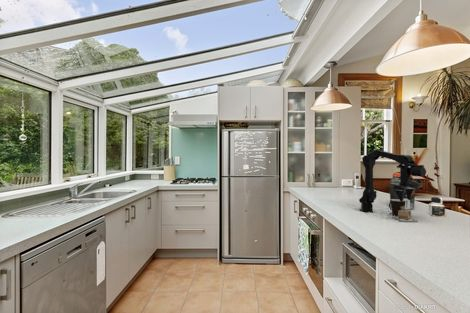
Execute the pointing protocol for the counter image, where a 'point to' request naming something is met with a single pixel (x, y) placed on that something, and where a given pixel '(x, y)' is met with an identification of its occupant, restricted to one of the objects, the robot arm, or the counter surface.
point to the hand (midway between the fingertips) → (405, 200)
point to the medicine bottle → (437, 207)
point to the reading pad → (404, 220)
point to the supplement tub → (409, 203)
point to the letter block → (404, 214)
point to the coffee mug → (397, 206)
